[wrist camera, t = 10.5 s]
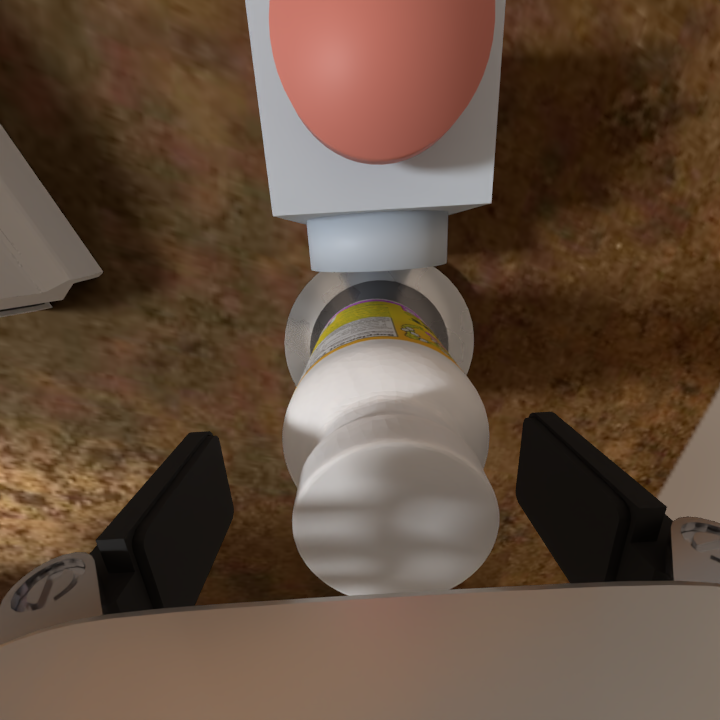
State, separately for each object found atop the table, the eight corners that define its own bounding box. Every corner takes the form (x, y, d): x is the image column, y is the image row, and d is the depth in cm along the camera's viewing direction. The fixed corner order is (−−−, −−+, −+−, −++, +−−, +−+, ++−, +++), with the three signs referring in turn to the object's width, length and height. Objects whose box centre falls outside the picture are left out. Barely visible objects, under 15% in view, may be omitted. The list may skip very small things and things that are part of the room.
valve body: (437, 256, 19) (515, 274, 9) (313, 263, 19) (262, 288, 9) (442, 57, 16) (564, -224, 6) (294, 67, 16) (191, -192, 6)
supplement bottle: (444, 387, 20) (564, 605, 8) (339, 416, 21) (308, 656, 9) (416, 279, 18) (523, 357, 6) (301, 315, 19) (192, 450, 7)
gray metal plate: (464, 420, 22) (469, 429, 21) (299, 427, 23) (295, 437, 22) (474, 245, 19) (481, 245, 18) (276, 255, 19) (271, 257, 18)
